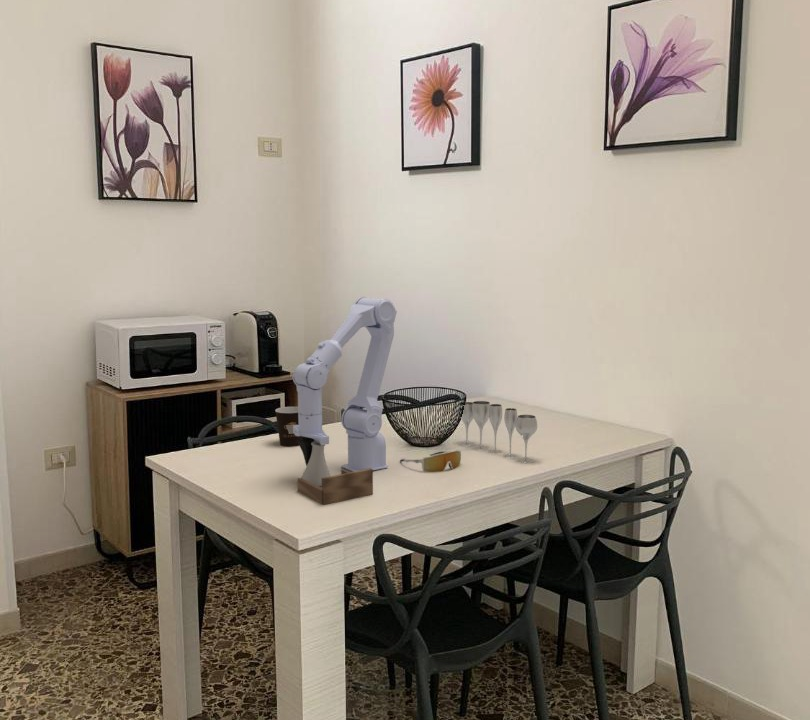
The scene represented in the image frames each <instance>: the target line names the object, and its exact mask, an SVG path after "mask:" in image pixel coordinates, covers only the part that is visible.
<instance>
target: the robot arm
mask: <svg viewBox="0 0 810 720" xmlns="http://www.w3.org/2000/svg"><path fill="white" fill-rule="evenodd" d="M349 310H350V311H349V313H348V315H347V317H346V318H345V319H344V321H343V322H342V324H341V325H340V326H339V327H338V328H337V330H336V332H335V333H334V335H333V336H332V337H331V338H330V339H325V340H323V341H320V342H319V343H318V344H317V348H316V349H315V350H314V351H313V353H311V355H310V356H309V357H307V359H306V361H305V362H303V363H300V364H299V365H298V366H296V368H295V370H294V373H293V374H291V375H292V376H291V378H292V381H293V383H294V385H296V386H295V387H296V392H297V407H298V419H299V425H294V426H293V433H294V434H295V435H296V436H303V438H302V439H299V440H297V442H298V444H299V447H300V450H301V452H302V455H303V459H304V463H305V465H306V466H305V468H306V467H307V464H308V462H309V460H310V457H311V453H312V445H311V443H312V442H313V441H317V442H319V443H320V445H325V446H326V445H329V444H330V436H329V435H328V434H326V433H325V431H324V430H323V397H322V396H323V395H322V392H323V391H322V390H323V389H322V388H323V386H325V385H326V383H327V380H328V375H329V372H330V371H331V369H332V368H333V366H335V365H336V363H337V362H339V361H338V360H340V358H341V357H342V356H343V355H342V354H343V352H342V351H343V350H342V348H344V346H345V345H346V344H347V343H348V342H349V341H350V340H351V339H352V338H353V337H354V336H355V335H356V334H357V333H358V332H359V330H361V328H365V329H366V330H367V331H368V333H369V334H370V336H371V338H370V341H369V345H368V348H367V353H366V355H365V356H366V357H365V361H364V364H363V369H362V373H361V377H360V381H359V384H358V388H357V391H356V394H355V396H354V397H352V398H351V399H350V400H348V402H347V406H346V408H345V409H344V410H343V413H342V415H341V418H340V419H341V425H342V427H343V428H344V429H345V432H346V433H345V434H347V463H345V464H341V468H343V469H345V470H347V471H349V472H354V471H359V470H364V469H369V468H371V469H373V471H377V470H383V469H387V468H389V466H388V465H387V445H386V443H387V442H386V438H385V437H384V435H383V433H381V432H380V430H381V428H382V424H383V419H382V416H383V408H382V406H381V404H380V403H379V401H378V397H379V394H380V391H381V387H382V382H383V379H384V374H385V371H386V367H387V364H388V359H389V355H390V352H391V348H392V343H393V339H394V336H395V334H394V333H395V327H394V325H395V321H396V315H397V313H398V311H397V310H396V307H395V306H394V304H393V302H392V301H391V300H390V299H388V298H372V297H365V296H360V297H359V298H357V299H356V301H355V302H354V303H353V304H352V305H351V306H350V309H349Z"/></svg>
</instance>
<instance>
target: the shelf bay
mask: <svg viewBox="0 0 810 720" xmlns="http://www.w3.org/2000/svg"><path fill="white" fill-rule="evenodd" d="M373 473H374V470H373V469H371V468H369V469H364V470H359V471H354V472H352V471H350V470H348V469H345V468H343V469H341V470H340V473H339V474H335V475H330V476H329V477H324V478H322V486H320V487H319V486H317V485H315V484H313V483H310V482H308V481H306V480H304V479H302V478H301V477H299V478H296V479H297V481H296V482H297V492H299V493H301V494H303V495H305V496H306V497H308V498H309V499H312V500H314V501H316V502H318V503H320V504H321V505H324V506H326V505H330V504H334V503H339V502H343V501H348V500H353V499H357V498H363V497H367V496H371V495H374V478H373V477H374V474H373Z"/></svg>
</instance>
